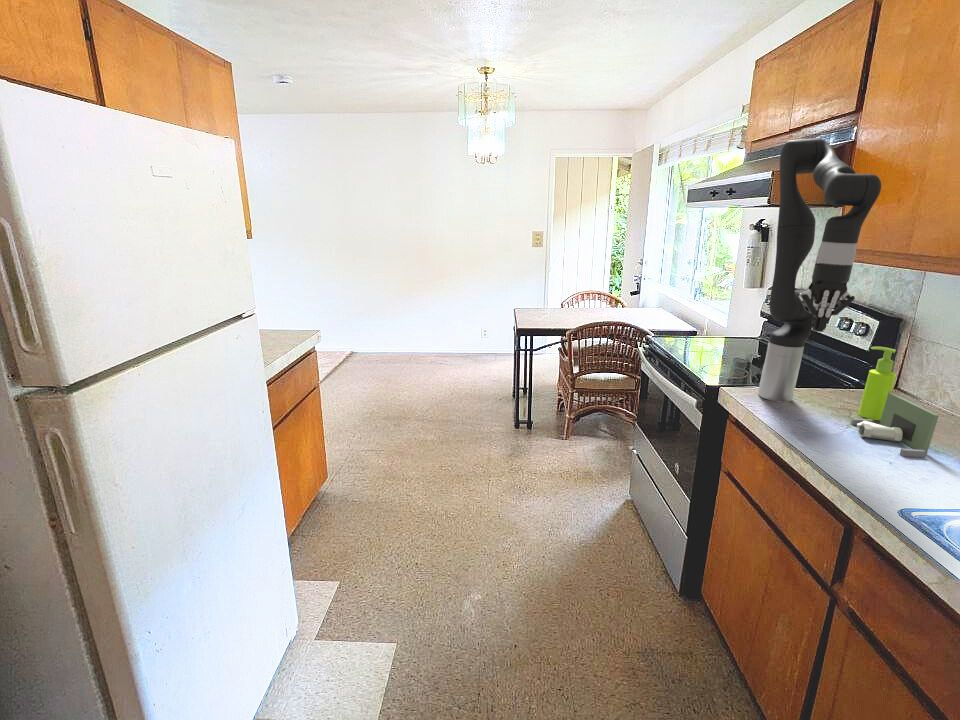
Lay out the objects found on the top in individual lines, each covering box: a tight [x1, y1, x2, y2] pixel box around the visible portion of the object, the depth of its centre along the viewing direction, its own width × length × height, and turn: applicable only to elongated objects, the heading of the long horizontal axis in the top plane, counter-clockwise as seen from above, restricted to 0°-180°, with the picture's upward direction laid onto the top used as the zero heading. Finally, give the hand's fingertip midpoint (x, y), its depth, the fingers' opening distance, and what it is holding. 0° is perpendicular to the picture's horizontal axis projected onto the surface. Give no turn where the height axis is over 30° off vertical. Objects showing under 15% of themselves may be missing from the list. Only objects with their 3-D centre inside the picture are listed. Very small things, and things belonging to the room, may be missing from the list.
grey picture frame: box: [850, 392, 940, 458], centre depth 124 cm, size 19×7×10 cm, turn 176°
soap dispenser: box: [857, 346, 897, 421], centre depth 138 cm, size 6×7×20 cm
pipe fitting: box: [856, 421, 903, 443], centre depth 127 cm, size 8×4×7 cm
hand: (817, 330), depth 125 cm, fingers closed
